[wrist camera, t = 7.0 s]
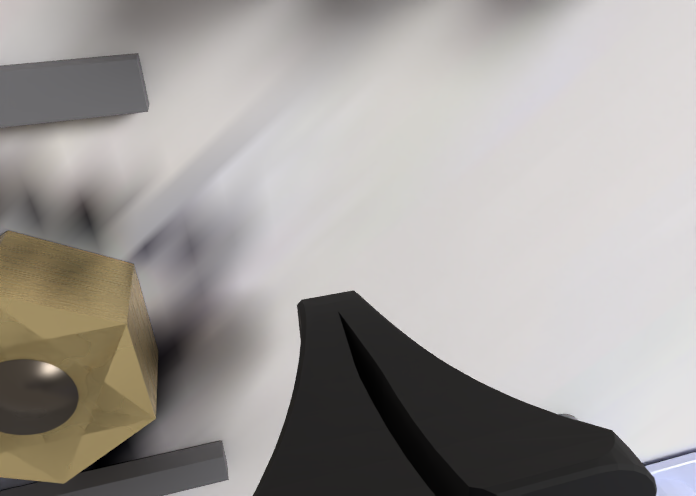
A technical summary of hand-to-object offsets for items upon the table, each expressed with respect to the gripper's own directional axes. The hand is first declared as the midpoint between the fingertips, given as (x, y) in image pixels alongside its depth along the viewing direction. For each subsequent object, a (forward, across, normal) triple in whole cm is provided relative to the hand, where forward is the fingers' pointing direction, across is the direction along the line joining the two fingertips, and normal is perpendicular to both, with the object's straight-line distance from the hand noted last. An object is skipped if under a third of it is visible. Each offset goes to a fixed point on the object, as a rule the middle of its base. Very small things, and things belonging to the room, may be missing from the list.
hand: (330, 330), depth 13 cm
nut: (+2, +6, 0) cm, 7 cm away
